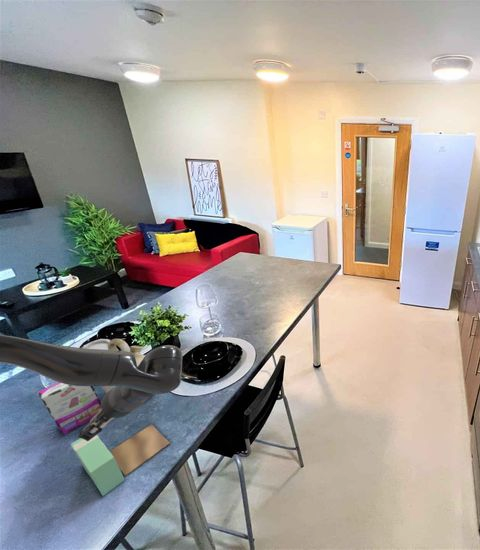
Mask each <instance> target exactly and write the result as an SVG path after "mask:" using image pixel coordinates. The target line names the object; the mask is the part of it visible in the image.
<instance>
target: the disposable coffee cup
mask: <svg viewBox="0 0 480 550" xmlns="http://www.w3.org/2000/svg"><path fill="white" fill-rule="evenodd" d="M110 341H111V340H110V339H108V338H100V339H96V340H93V341H90V342H88V343H86V344H85V345H83V346H82V348H86V349H101V350H108V343H109V342H110Z"/></svg>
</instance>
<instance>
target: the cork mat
mask: <svg viewBox="0 0 480 550" xmlns="http://www.w3.org/2000/svg"><path fill="white" fill-rule="evenodd" d="M170 445H171V442H170V441H169V440H168V439H167V438H166V437H165V436H164V435H163V434H162V433H161V432H160V431H159V429H157V427H155V426H154V425H153V424H149V425H148V426H146V427H145V428H143V429H142V430H140V431H139V432H137V433H136V434H133V435H132V436H131V437H129V438H128V439H126V440H125V441H123V442H122V443H120V444H119V445H117V446H116V447H114V448H113V449H111V450H109V452H110V453H111V454H112V455H113V457H114V459H115V461H116V463H117V465H118V467H119V469H120V471H121V473H122V475H123V476H124V477H127V476H128V475H129V474H130V473H133V471H136V469H138V468H139V467H140V466H142V465H143V464H145V463H146V462H148V461H149V460H150V459H151V458H153V457H154V456H156V455H157V454H159V452H161V451H162V450H163V449H165V448H166V447H168V446H170Z"/></svg>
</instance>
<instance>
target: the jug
mask: <svg viewBox="0 0 480 550" xmlns="http://www.w3.org/2000/svg"><path fill="white" fill-rule="evenodd" d="M117 347H118V348H119V349H120V350H119V349H118V348H117ZM143 349H144V347H143V346H141V345H131V346H129V344H128V343H127V342H126V341H125V340H124V339H121V338H112V339H111V340H110V342H109V343H108V350H118V351H129V352H132V353H134V355H135V358H136V364H137V367H138V365H139V364H140V362H141V361H142V360H143V358H144V357H145V356H146V354H142V353H141V352H142V350H143ZM100 387H101V388H102V391H104V393H105V394H106V393H107V392H109V391H110V390H111V389H112V388H114V387H115V386H100Z"/></svg>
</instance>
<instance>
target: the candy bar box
mask: <svg viewBox="0 0 480 550" xmlns="http://www.w3.org/2000/svg"><path fill="white" fill-rule="evenodd" d="M37 394H38V396H39V398H40V400H41V401H42V403H43V405H44V406H45V408H46V410H47V411H48V413H49V415H50V416H51V418H52V419H53V421H54V423H55V425H56V427H57V428H58V430H59V431H60V432H61V434H62V435H63V436H64V435H67V434H68V433H70V432H71V431H74V430H75V429H77V428H79V427H80V426H82V425H84V424H86V423H88V422H90V420H91V419H92V418H93V417H94V416H95V415H96V414H97V413H98V412H99V410H100V409H101V399H100V398H99V396H98V394H97V392H96V390H95V387H94V386H73V385H67V384H63V383H60V382H55V383H54V384H51V385H49V386H47V387H44V388H43V389H41V390H38V391H37Z"/></svg>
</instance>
